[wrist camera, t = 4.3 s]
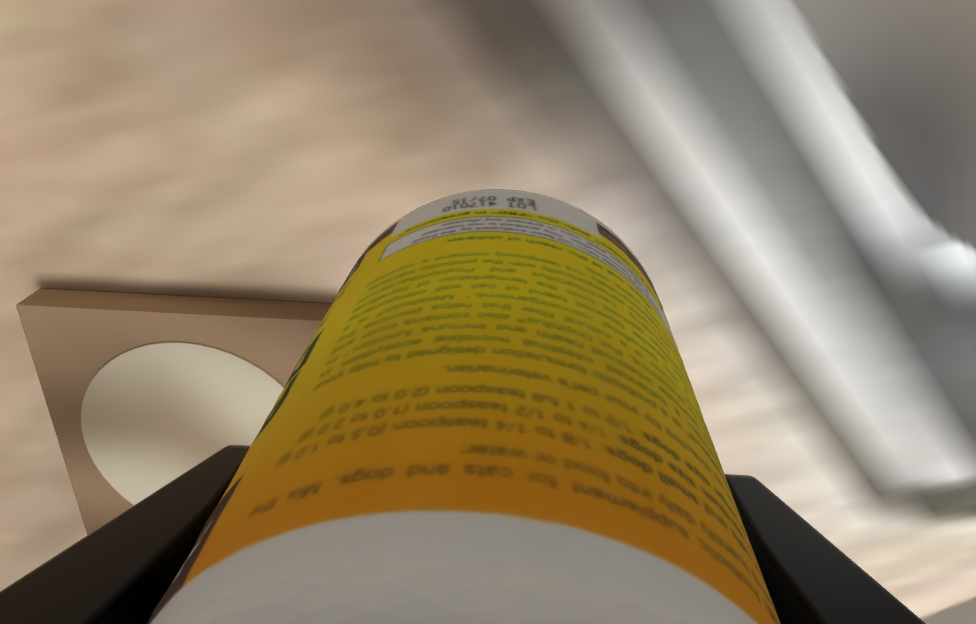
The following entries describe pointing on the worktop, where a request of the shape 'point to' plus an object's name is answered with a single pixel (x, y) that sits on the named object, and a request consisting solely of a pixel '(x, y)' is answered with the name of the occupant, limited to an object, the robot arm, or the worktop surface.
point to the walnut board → (156, 382)
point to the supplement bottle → (481, 446)
